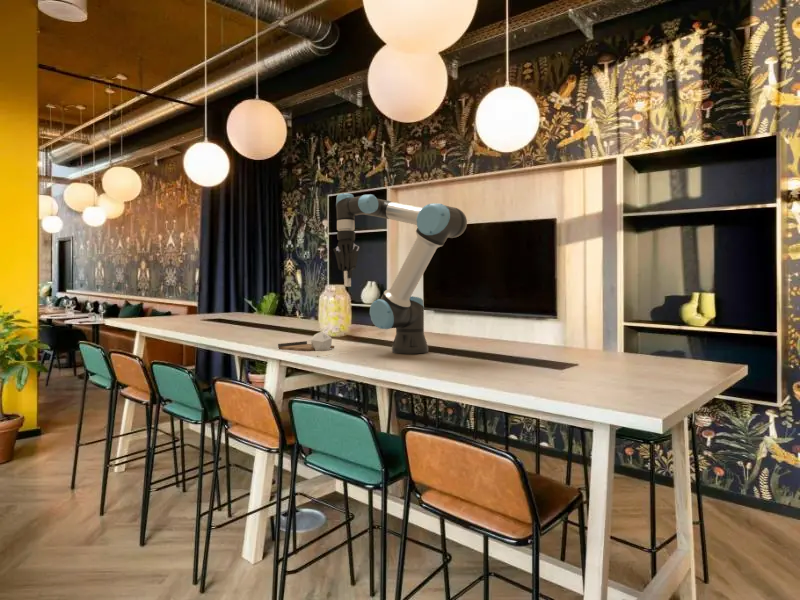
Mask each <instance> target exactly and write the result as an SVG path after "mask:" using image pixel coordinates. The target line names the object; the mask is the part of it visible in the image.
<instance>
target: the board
mask: <svg viewBox="0 0 800 600" xmlns="http://www.w3.org/2000/svg"><path fill="white" fill-rule="evenodd" d="M277 346H278V347H277V349H278V348H279V349H278V350H286V351H287V350H288V351H300V352H301V351H302V352H312V351H315V348H312V347H311V343H308V341H307V340H306V341H305V340H304V341H296V342H295V341H293V342H285V343H277ZM330 348H331V349H335V345H331V347H330Z"/></svg>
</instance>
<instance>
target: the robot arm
mask: <svg viewBox="0 0 800 600" xmlns="http://www.w3.org/2000/svg"><path fill="white" fill-rule="evenodd" d="M335 209H336V230H337V232H336V233H337V234H336V237H337V241H338V243H337V246H336V247H335V248H333V249H332V250H333V252H334V254H335V259H336V263H337V268H338V270H339V271H342V279H343V282H344V283H343V286H344V287H352V278H353V270H356V268H357V262H358V256H359V252H360V249H361V246H359V245H357V244H356V242H355V240H356V231H355V228H356V225H355V224H356V222H355V220H356V219H355V216H360V215H365V216H371V217H377V218H382V219H385V220H386V219H387V220H393V221H397V222H400V223H406V224H409V225H410V224H411V225H414V226H415V225H416V227H417V228H416V230H415V234H416V239H415V241H414V242H413V244H412V247H411V249H410V250H409V252H408V254H407V256H406V258H405V259H404V262H403V264H401V265H402V266H401V268H400V270H399V271H398V273H397V275H396V277H395V279H394V280H393V283H392V284H391V287H390V288H389V289H386V290H384V291H383V294H382V295H381V297H380V298H378V299H376V300H374V301H373V302H371V304H370V308H369V316H370V320H371V322H372V324H373V325H374V326H375V327H376V328H377V329H380V330H390V329H395V336H394V339H393V343H392V346H391V352H392V353H394V354H407V355H408V354H409V355H410V354H411V355H412V354H425V353H426V354H427V353H429V346H428V342H427V339H426V336H425V322H424V321H425V320H424V319H425V315H424V314H425V311H424V310H425V306H424V299H422V298H421V297H418V296H412V295H413V294H414V292H415V289H416V288H417V286H418V284H419V282H420V281H421V279H422V277H423V275H424V273H425V271H426V270H427V267H428V266H429V264H430V262H431V260H432V258H433V256H434V254H435V253H436V251H437V249H438V248H440V247H443V246H444V245H445V242H446V241H447V239H448V238H450V239H453V238H457V237H458V238H459V236H461V235H462V234H464V232H465V231H466V229H467V227H468V226H467V225H468V219H467V216H466V214H465V212H463V211H462V210H461V209H460V208H457V207H454V206H448V205H444V204H442V203H428V204H426V205H424V206H417V205H411V204H408V203H407V204H406V203H403V202H402V203H401V202H396V201H392V200H391V201H390V200H385V199H380V198H377V197H376V196H375V194H371V193H370V194H363V195H358V196H354V194H352V193H347V192H346V193H345V192H344V193H339V194H337V196H336V202H335Z"/></svg>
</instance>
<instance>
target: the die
mask: <svg viewBox="0 0 800 600" xmlns="http://www.w3.org/2000/svg"><path fill="white" fill-rule="evenodd" d="M332 339H333V338H332V337H331V336H330V335H328V334H327V333H326V332H323V331H320V332H317V333H315V334H313V336H312V338H311V341H310V342H311V343H310V344H311V347H312V348H315V350H314V351H316V352H317V351H320V352H321V351H330V347H331V346H332V341H333V340H332Z"/></svg>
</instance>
